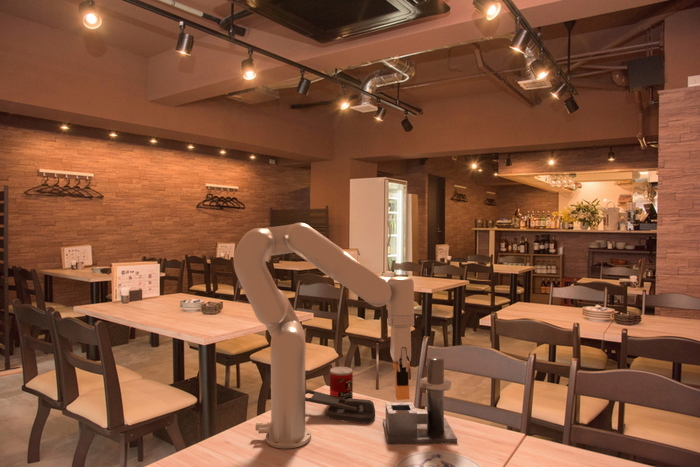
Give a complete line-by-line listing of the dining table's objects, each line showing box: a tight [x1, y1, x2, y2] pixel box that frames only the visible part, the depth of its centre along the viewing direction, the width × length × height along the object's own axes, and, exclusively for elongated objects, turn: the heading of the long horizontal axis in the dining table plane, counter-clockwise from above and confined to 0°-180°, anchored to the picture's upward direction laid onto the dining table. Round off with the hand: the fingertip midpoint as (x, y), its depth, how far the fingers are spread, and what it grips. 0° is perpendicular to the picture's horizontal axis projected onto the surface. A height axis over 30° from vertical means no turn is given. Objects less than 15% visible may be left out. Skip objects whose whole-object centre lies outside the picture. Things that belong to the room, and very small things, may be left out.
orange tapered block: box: [392, 360, 411, 401], centre depth 133 cm, size 4×3×10 cm
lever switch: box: [382, 356, 458, 445], centre depth 133 cm, size 19×14×21 cm
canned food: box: [329, 366, 354, 404], centre depth 157 cm, size 8×8×11 cm
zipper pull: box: [305, 388, 376, 424], centre depth 146 cm, size 9×7×25 cm
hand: (401, 383), depth 133 cm, fingers closed on orange tapered block, 2 cm apart
